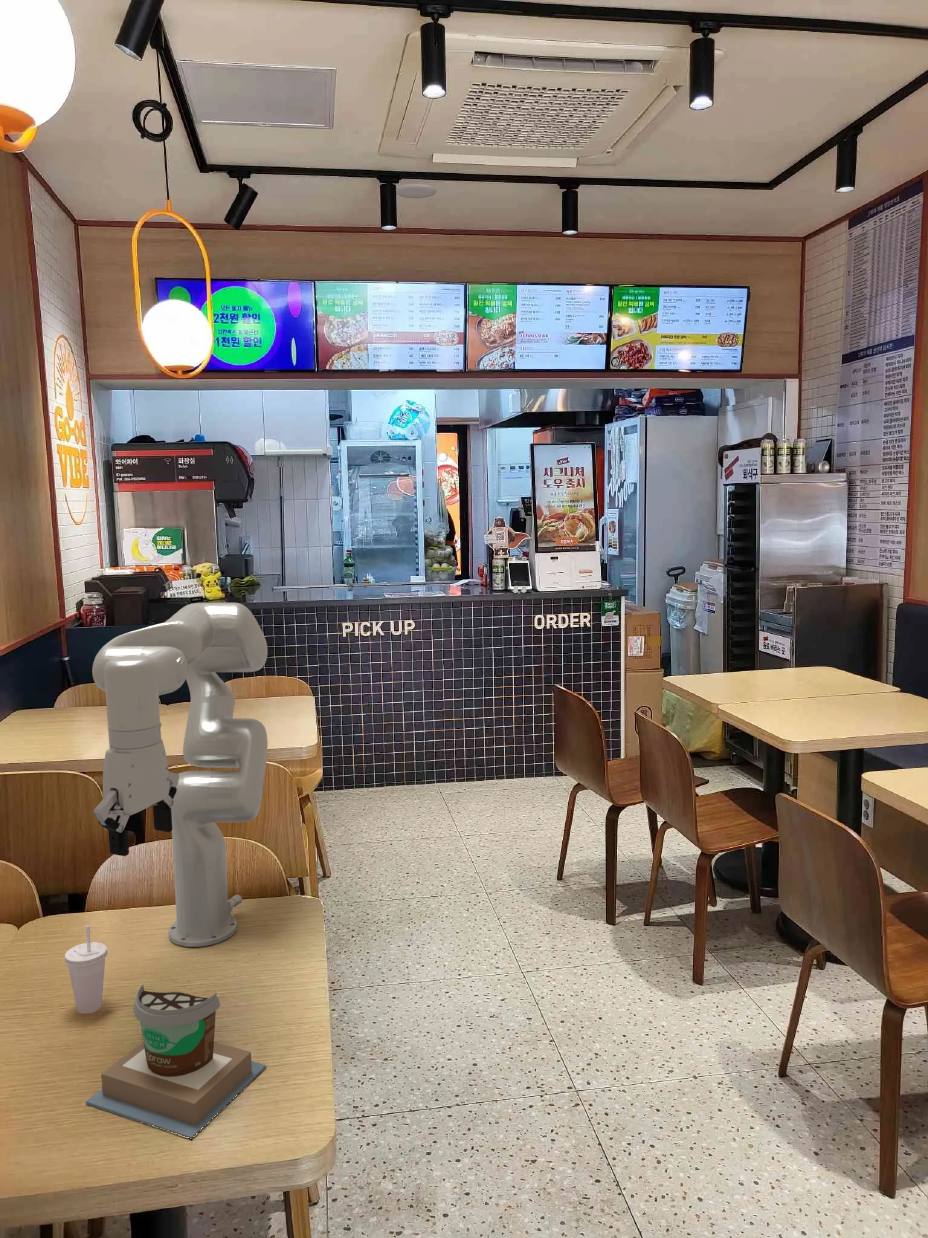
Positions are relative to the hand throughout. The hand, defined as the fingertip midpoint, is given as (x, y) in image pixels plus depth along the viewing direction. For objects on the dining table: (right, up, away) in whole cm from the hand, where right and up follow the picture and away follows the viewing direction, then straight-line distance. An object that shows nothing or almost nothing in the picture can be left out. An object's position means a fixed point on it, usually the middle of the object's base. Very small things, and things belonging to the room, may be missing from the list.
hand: (142, 842), depth 138 cm
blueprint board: (+10, -31, -14) cm, 35 cm away
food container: (+10, -28, -16) cm, 33 cm away
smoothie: (-11, -29, +6) cm, 31 cm away
